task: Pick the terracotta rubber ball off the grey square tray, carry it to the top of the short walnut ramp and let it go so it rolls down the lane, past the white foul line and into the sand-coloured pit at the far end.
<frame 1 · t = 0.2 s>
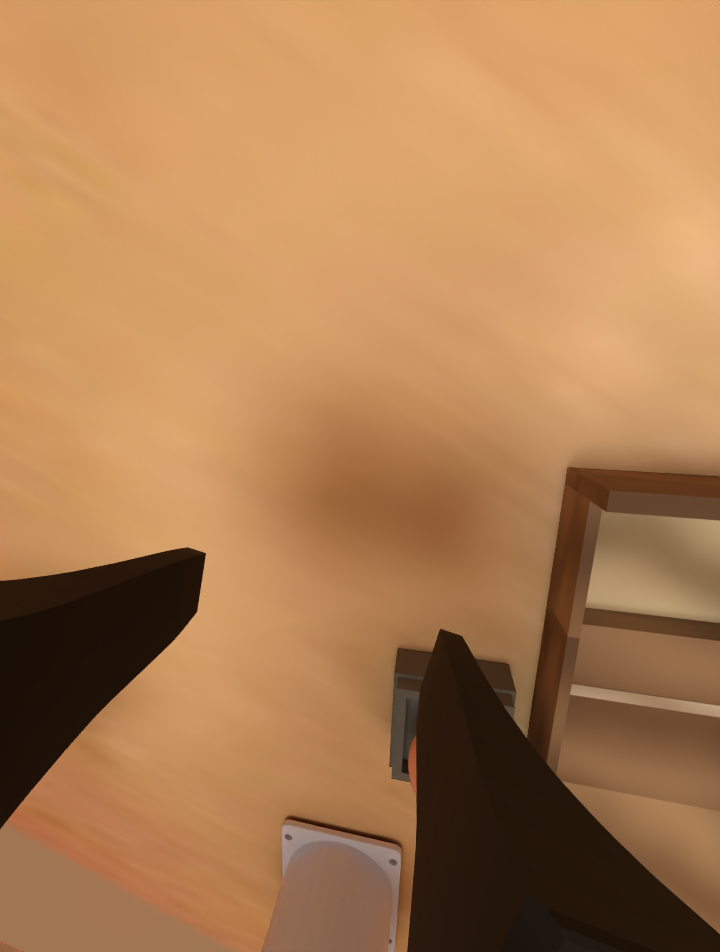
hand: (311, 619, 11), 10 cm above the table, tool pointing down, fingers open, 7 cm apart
lane: (626, 698, 20), on the table
grey square tray: (447, 701, 22), on the table
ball: (450, 767, 18), point 4 cm above the table, touching grey square tray
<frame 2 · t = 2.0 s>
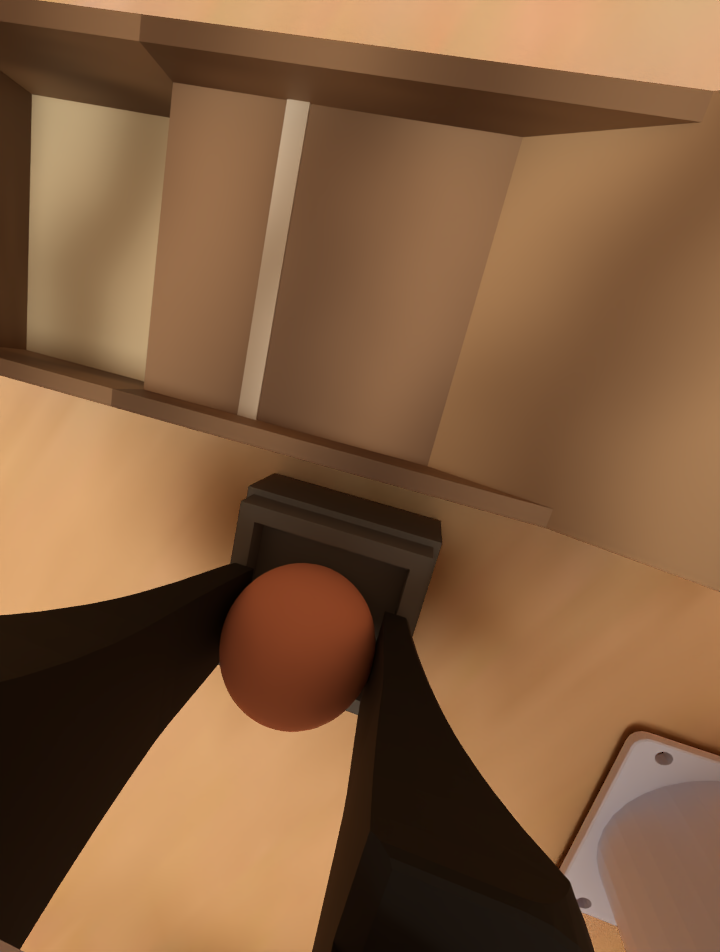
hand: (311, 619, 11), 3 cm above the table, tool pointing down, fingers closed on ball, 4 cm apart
lane: (338, 301, 12), on the table
grey square tray: (336, 573, 14), on the table
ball: (299, 640, 10), point 4 cm above the table, touching gripper, grey square tray
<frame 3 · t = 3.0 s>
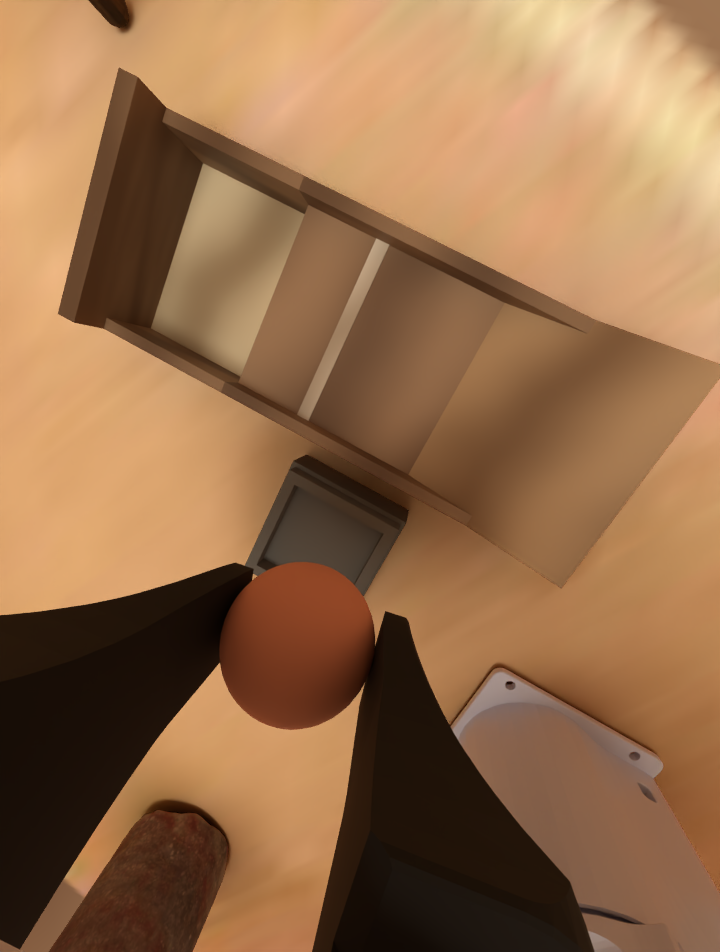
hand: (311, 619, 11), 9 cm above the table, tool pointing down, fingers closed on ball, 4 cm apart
lane: (376, 355, 18), on the table
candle: (185, 839, 28), on the table
grey square tray: (332, 529, 21), on the table
decorative torch: (129, 20, 17), on the table
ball: (299, 639, 10), point 10 cm above the table, touching gripper
when the fingers open (6 cm above the table, at t = 4.3 s): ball drops 5 cm and tips over, resting on lane.
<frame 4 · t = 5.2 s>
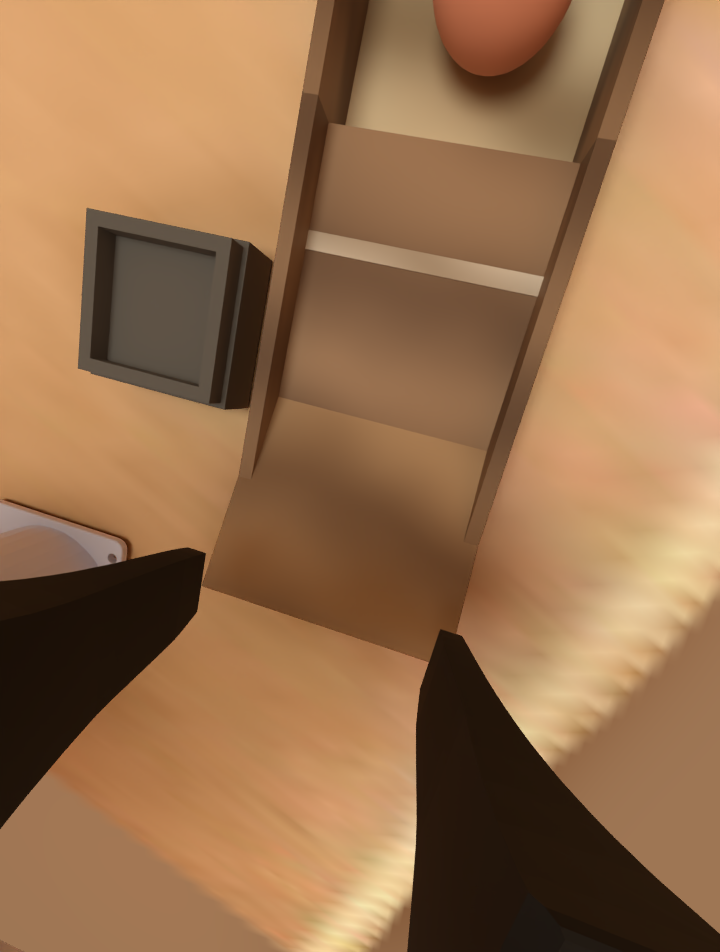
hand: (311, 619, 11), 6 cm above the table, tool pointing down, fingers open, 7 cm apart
lane: (410, 319, 15), on the table
grey square tray: (195, 322, 17), on the table
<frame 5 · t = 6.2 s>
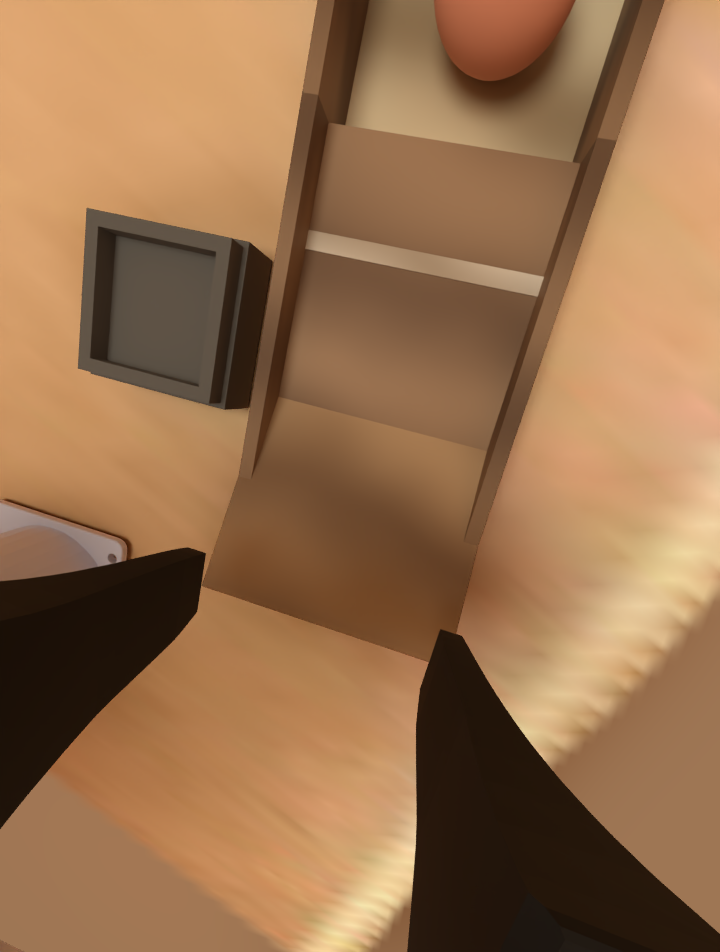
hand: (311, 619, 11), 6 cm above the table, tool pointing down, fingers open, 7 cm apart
lane: (410, 319, 15), on the table
grey square tray: (195, 322, 17), on the table
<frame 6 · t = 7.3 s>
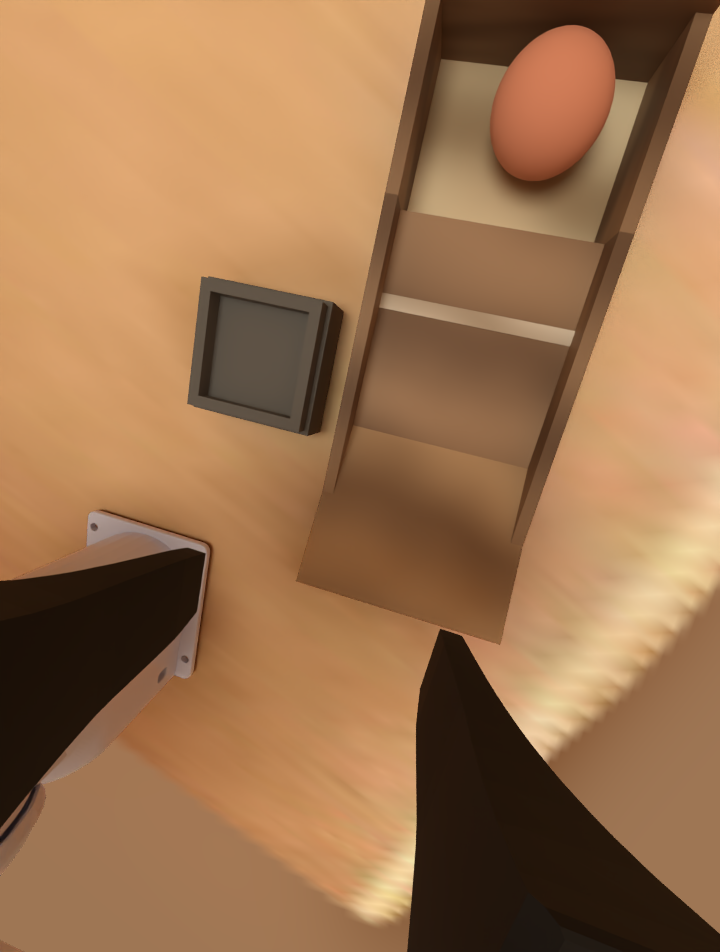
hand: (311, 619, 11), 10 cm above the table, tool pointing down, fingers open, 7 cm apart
lane: (460, 359, 18), on the table
grey square tray: (275, 361, 20), on the table
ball: (548, 110, 14), point 2 cm above the table, tilted 156°, touching lane
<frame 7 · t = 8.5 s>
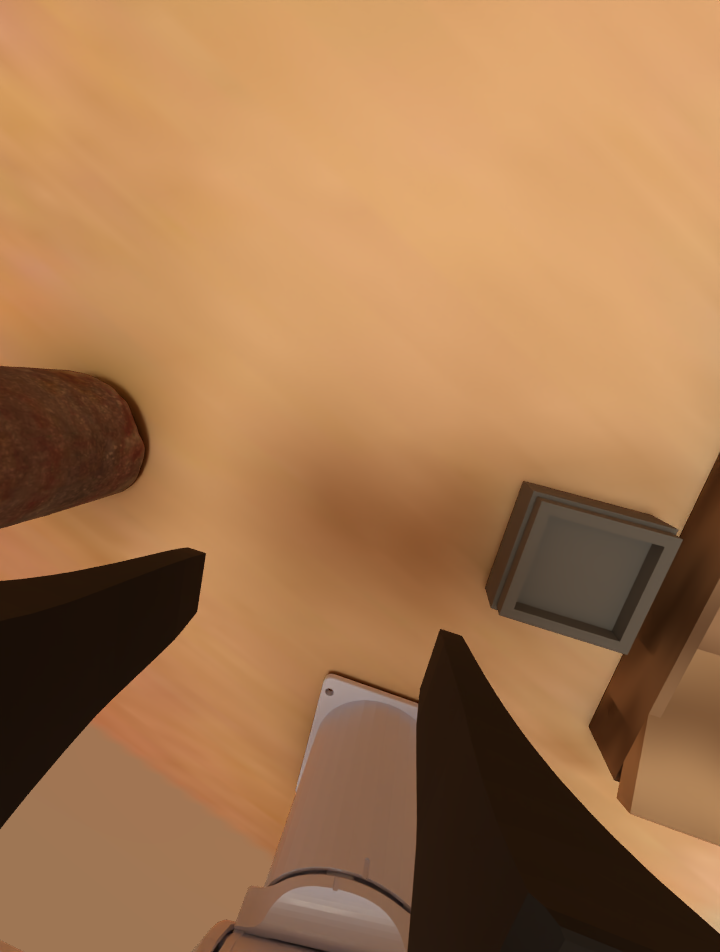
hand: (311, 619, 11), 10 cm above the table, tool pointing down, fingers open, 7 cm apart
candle: (95, 434, 23), on the table
grey square tray: (563, 553, 19), on the table
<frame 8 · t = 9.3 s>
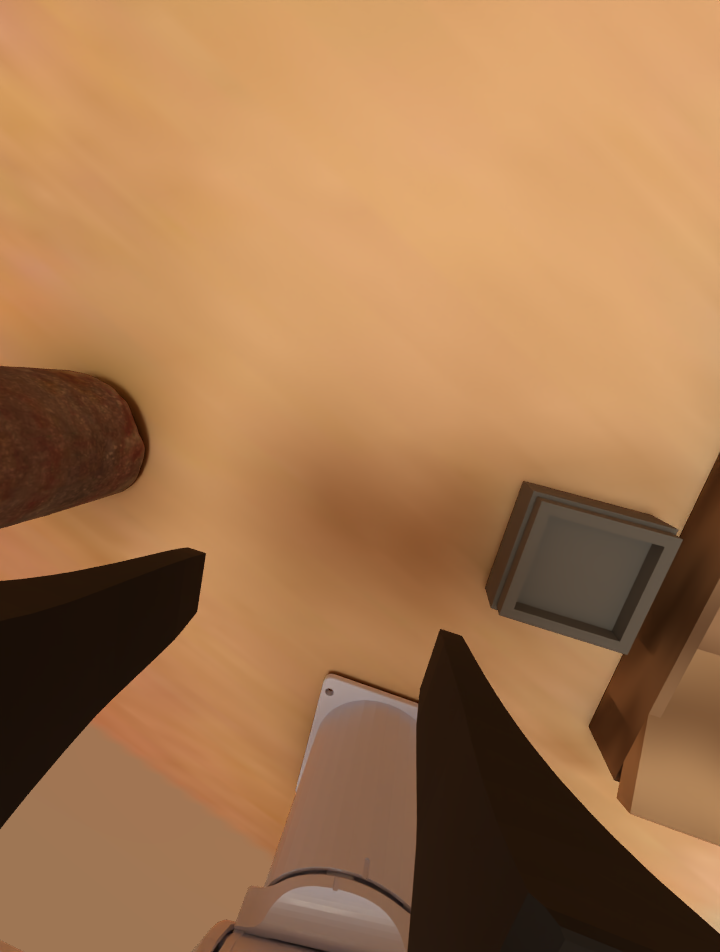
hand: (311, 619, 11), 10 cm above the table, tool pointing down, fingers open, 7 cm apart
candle: (95, 434, 23), on the table
grey square tray: (563, 553, 19), on the table
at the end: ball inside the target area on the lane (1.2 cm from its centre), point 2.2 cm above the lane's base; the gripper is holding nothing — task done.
